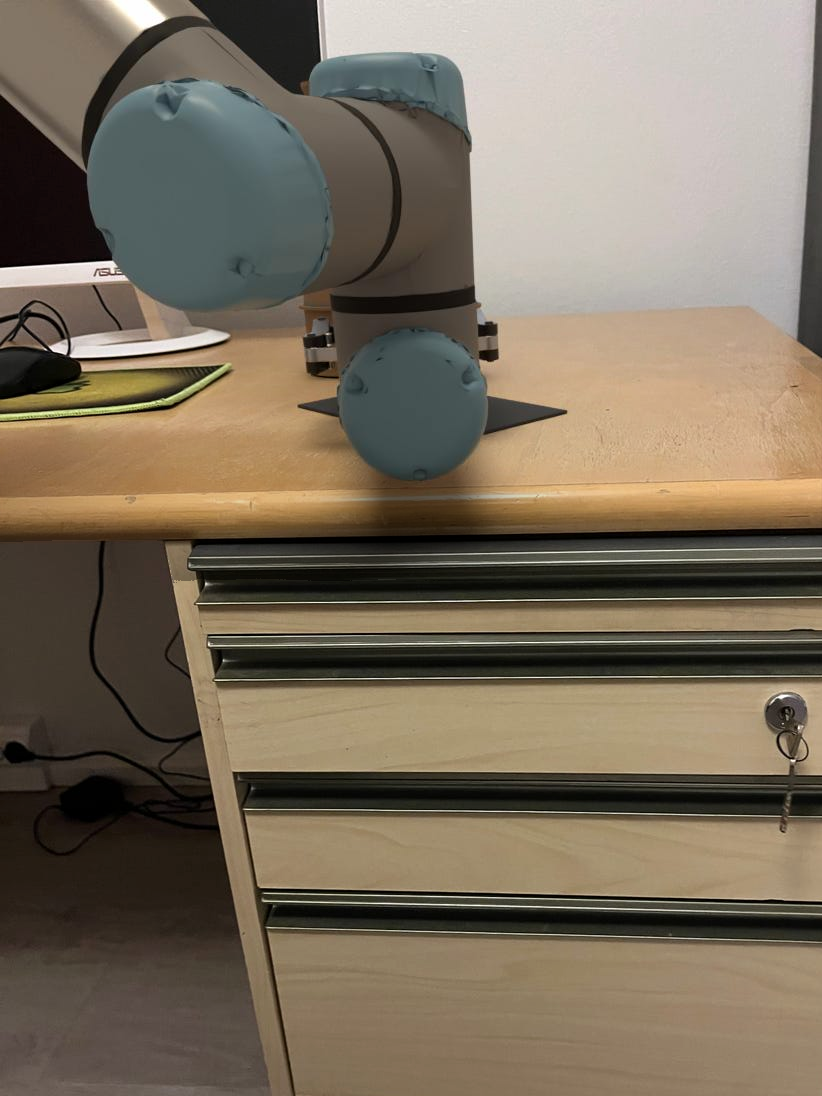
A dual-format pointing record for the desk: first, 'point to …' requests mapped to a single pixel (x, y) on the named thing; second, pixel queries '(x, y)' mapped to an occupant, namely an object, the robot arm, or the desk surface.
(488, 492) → the desk surface
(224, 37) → the robot arm
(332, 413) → the felt pad
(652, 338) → the desk surface
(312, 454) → the desk surface
